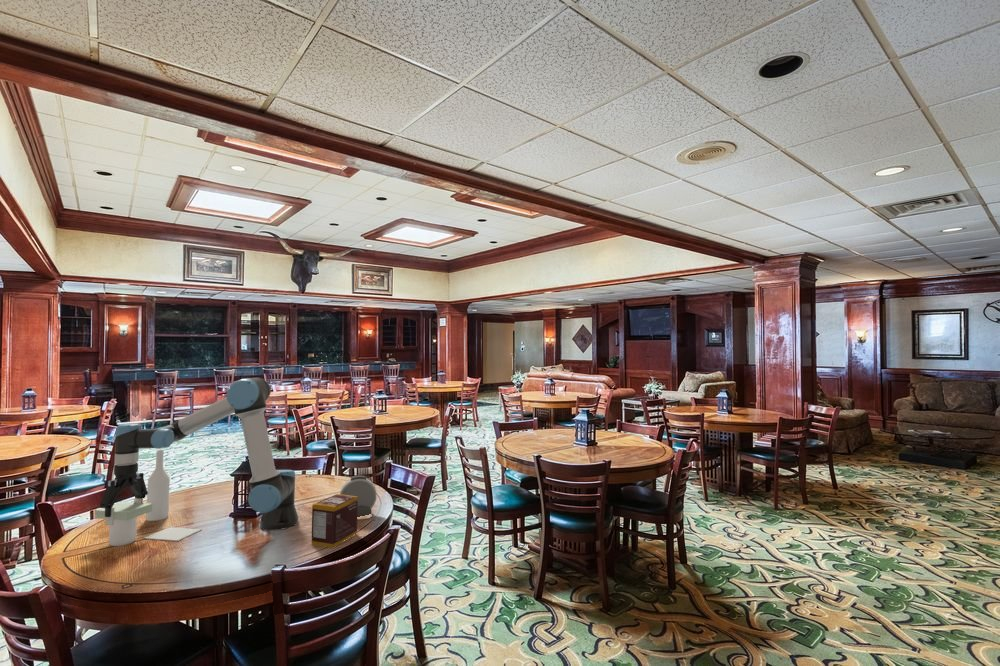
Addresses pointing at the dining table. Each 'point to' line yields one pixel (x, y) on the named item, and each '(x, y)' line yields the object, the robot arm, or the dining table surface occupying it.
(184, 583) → the dining table surface
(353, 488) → the alarm clock
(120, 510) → the board
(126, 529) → the cup
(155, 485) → the bottle
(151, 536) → the mat
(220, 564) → the dining table surface
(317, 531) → the supplement box
